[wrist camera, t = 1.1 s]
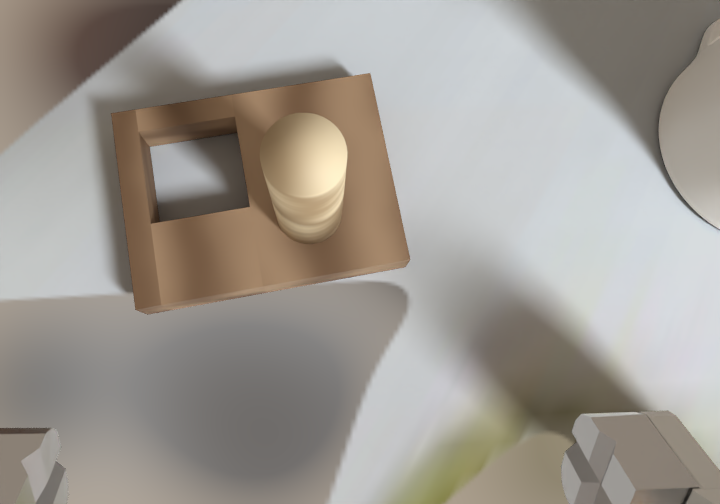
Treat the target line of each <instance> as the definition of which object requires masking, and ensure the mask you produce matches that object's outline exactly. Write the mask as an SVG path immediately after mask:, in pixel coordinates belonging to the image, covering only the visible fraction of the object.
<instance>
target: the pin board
mask: <svg viewBox="0 0 720 504" xmlns="http://www.w3.org/2000/svg"><path fill="white" fill-rule="evenodd" d="M295 113H312V114H316V115H319V116H322V117H324V118H326V119H328V120H329V121H331V122H332V123H333V124H334V125H335V126H336V127H337V128H338V129H339V130H340V132H341V133H342V135H343V137H344V139H345V142H346V146H347V166H346V177H345V187H344V198H343V209H342V218H341V222H340V225H339V227H338V229H337V230H336V232H335V233H334V234H333V235H332V236H331V237H329V238H328V239H327V240H325V241H323V242H320V243H317V244H302V243H298V242H296V241H294V240H292V239H290V238H289V237H288V236H286V235H285V234H284V232H283V231H282V230H281V228H280V226H279V224H278V221H277V217H276V214H275V211H274V207H273V204H272V200H271V197H270V193H269V190H268V187H267V183H266V180H265V176H264V173H263V170H262V166H261V162H260V146H261V142H262V139H263V137H264V135H265V133H266V132H267V130H268V129H269V128H270V127H271V126H272V125H273V124H274V123H275V122H276V121H278V120H279V119H281V118H283V117H285V116H288V115H290V114H295ZM111 116H112V124H113V132H114V140H115V148H116V156H117V164H118V173H119V181H120V189H121V197H122V205H123V213H124V221H125V229H126V237H127V245H128V253H129V261H130V269H131V278H132V286H133V294H134V302H135V310H138V311H140V312H143V313H145V314H153V313H159V312H164V311H169V310H175V309H180V308H185V307H191V306H196V305H202V304H207V303H213V302H218V301H224V300H229V299H235V298H240V297H246V296H251V295H256V294H262V293H267V292H273V291H278V290H283V289H289V288H294V287H300V286H305V285H311V284H316V283H322V282H327V281H332V280H338V279H343V278H349V277H354V276H360V275H365V274H371V273H376V272H381V271H387V270H392V269H398V268H403V267H406V265H407V264H408V262H409V261H410V256H409V252H408V247H407V242H406V238H405V233H404V228H403V224H402V219H401V214H400V210H399V205H398V200H397V196H396V191H395V186H394V182H393V177H392V172H391V168H390V163H389V158H388V154H387V149H386V144H385V140H384V135H383V131H382V126H381V121H380V117H379V112H378V107H377V103H376V98H375V93H374V89H373V84H372V79H371V75H370V73H368V74H362V75H355V76H349V77H342V78H336V79H330V80H323V81H317V82H310V83H304V84H297V85H291V86H284V87H278V88H271V89H265V90H258V91H252V92H246V93H239V94H233V95H226V96H220V97H213V98H207V99H200V100H194V101H187V102H181V103H175V104H168V105H162V106H155V107H149V108H142V109H136V110H129V111H123V112H116V113H111ZM232 133H238V138H239V144H240V150H241V156H242V162H243V168H244V175H245V181H246V187H247V193H248V199H249V205H250V207H246V208H240V209H234V210H228V211H222V212H217V213H211V214H205V215H199V216H193V217H187V218H182V219H176V220H170V221H164V222H160V220H159V212H158V205H157V198H156V190H155V183H154V176H153V168H152V161H151V153H150V147H151V146H157V145H163V144H170V143H176V142H182V141H188V140H195V139H201V138H207V137H213V136H220V135H226V134H232Z"/></svg>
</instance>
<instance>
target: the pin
mask: <svg viewBox="0 0 720 504" xmlns="http://www.w3.org/2000/svg"><path fill="white" fill-rule="evenodd" d="M260 162H261V166H262V170H263V173H264V176H265V180H266V183H267V187H268V190H269V193H270V197H271V200H272V204H273V207H274V211H275V214H276V217H277V221H278V224H279V226H280V228H281V230H282V231H283V232H284V234H285V235H286V236H288V237H289V238H290V239H292V240H294V241H296V242H298V243H302V244H317V243H320V242H323V241H325V240H327V239H328V238H329V237H331V236H332V235H333V234H334V233H335V232H336V230H337V229H338V227H339V225H340V222H341V218H342V209H343V198H344V187H345V177H346V166H347V146H346V142H345V139H344V137H343V135H342V133H341V132H340V130H339V129H338V128H337V127H336V126H335V125H334V124H333V123H332V122H331V121H329V120H328V119H326V118H324V117H322V116H319V115H316V114H312V113H295V114H290V115H288V116H285V117H283V118H281V119H279V120H278V121H276V122H275V123H274V124H273V125H272V126H271V127H270V128H269V129H268V130H267V132H266V133H265V135H264V137H263V139H262V142H261V146H260Z"/></svg>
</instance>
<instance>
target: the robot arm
mask: <svg viewBox="0 0 720 504" xmlns="http://www.w3.org/2000/svg"><path fill="white" fill-rule="evenodd" d="M659 143H660V149H661V154H662V158H663V161H664V164H665V167H666V169H667V172H668V174H669V176H670V178H671V180H672V182H673V183H674V185H675V187H676V188H677V190H678V191H679V193H680V194H681V196H682V197H683V198H684V199H685V201H686V202H687V203H688V204H689V205H690V206H691V207H692V208H693V209H694V210H695V211H696V212H697V213H698V214H699V215H700V216H701V217H703V218H704V219H705V220H706V221H708V222H709V223H711V224H712V225H714V226H715V227H717V228H718V229H720V19H718V20H717V21H715V22H714V23H713V24H711V25H710V26H709V27H708V28H707V30H706V31H705V33H704V36H703V38H702V41H701V44H700V47H699V51H698V54H697V56H696V58H695V59H694V60H693V62H692V63H691V64H690V65H689V66H688V67H687V68H686V69H685V70H684V71H683V72H682V73H681V74H680V75H679V76H678V77H677V78H676V80H675V81H674V82H673V84H672V85H671V87H670V89H669V90H668V92H667V95H666V97H665V99H664V102H663V105H662V108H661V113H660V118H659ZM572 433H573V435H574V437H575V439H576V440H577V442H576V443H574V444H573V445H572V446H571V447H570V448H569V449H568V450H566V451H565V454H564V458H563V462H562V465H561V473H562V485H563V489H564V492H565V496H566V498H567V500H568V503H569V504H720V470H719V469H718V468H717V467H716V465H715V464H714V463H713V462H712V460H711V459H710V458H709V456H708V455H707V454H706V453H705V451H704V450H703V449H702V448H701V446H700V445H699V444H698V443H697V441H696V440H695V439H694V438H693V436H692V435H691V434H690V433H689V431H688V430H687V429H686V427H685V426H684V425H683V424H682V422H681V421H680V420H679V419H678V417H677V416H676V415H674V414H673V413H671V412H669V411H642V412H620V413H591V414H581V415H580V416H579V417H578V418H577V419H576V420H575V423H574V426H573V429H572ZM60 449H61V444H60V440H59V436H58V432H57V430H55V429H53V428H0V504H67V501H68V478H67V473H66V469H65V468H64V467H63V466H62V465H60V464H59V463H58V462H56V459H57V457H58V454H59V452H60Z"/></svg>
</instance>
